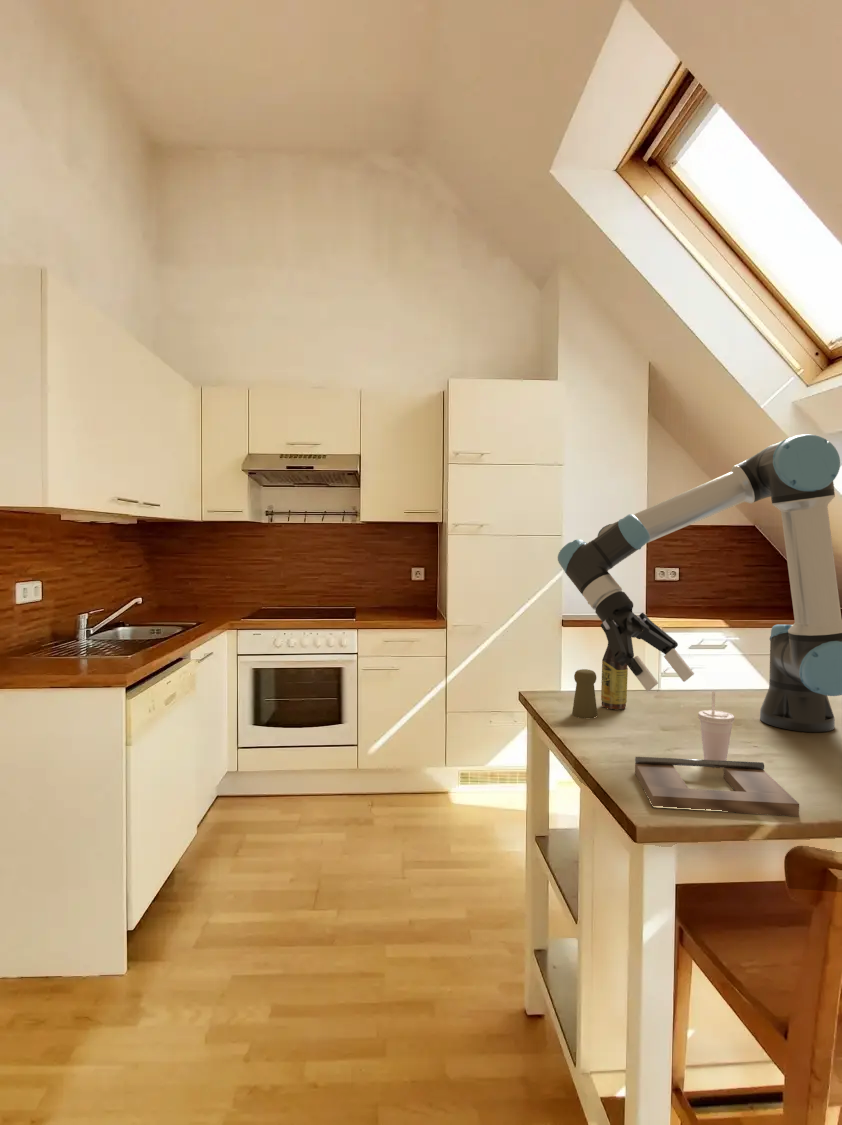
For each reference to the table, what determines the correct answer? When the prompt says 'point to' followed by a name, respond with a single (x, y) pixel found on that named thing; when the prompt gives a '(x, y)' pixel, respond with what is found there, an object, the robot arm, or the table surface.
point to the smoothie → (715, 732)
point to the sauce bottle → (613, 682)
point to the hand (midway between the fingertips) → (671, 682)
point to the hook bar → (699, 763)
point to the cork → (585, 694)
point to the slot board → (718, 791)
